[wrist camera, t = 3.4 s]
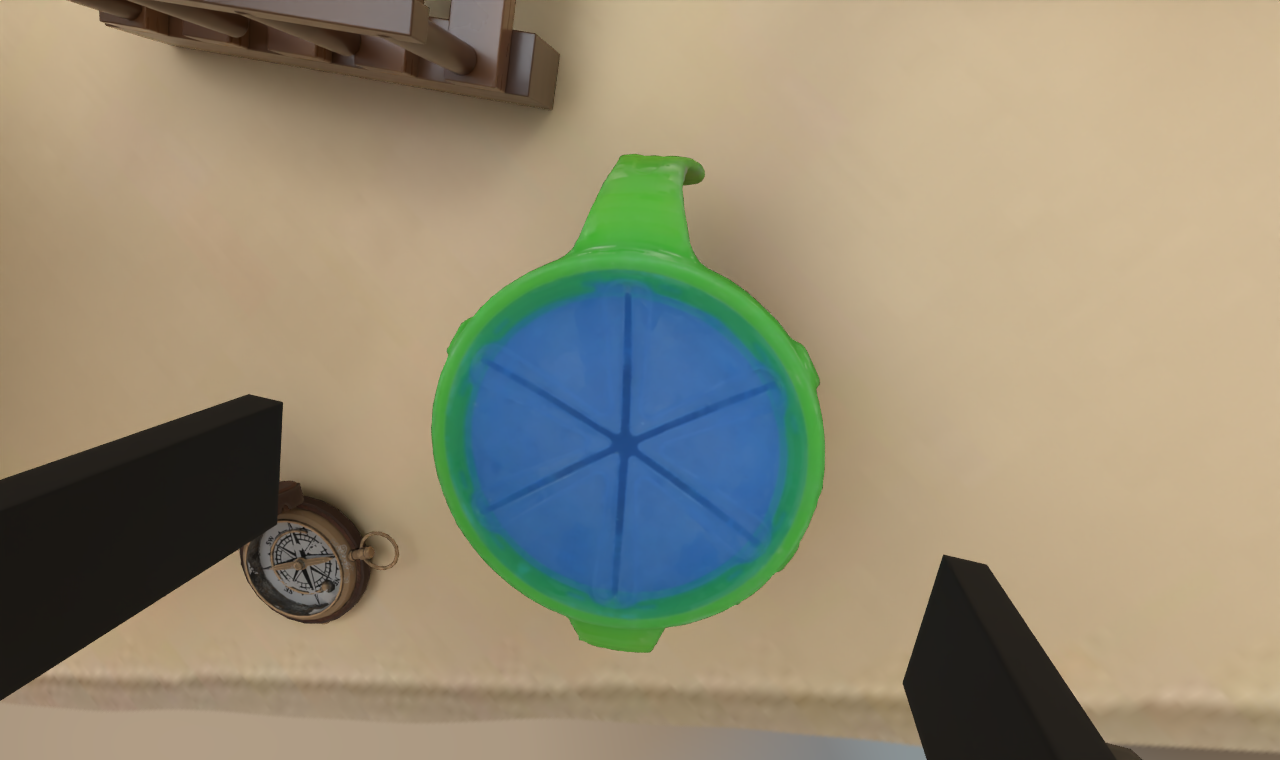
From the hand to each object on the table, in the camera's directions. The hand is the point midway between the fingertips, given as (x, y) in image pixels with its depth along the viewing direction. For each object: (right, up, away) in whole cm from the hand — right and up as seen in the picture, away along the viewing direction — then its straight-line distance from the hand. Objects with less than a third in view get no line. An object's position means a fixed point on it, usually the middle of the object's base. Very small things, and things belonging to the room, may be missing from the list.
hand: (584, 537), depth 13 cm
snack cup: (+2, +3, +15) cm, 15 cm away
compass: (-13, -4, +19) cm, 24 cm away
